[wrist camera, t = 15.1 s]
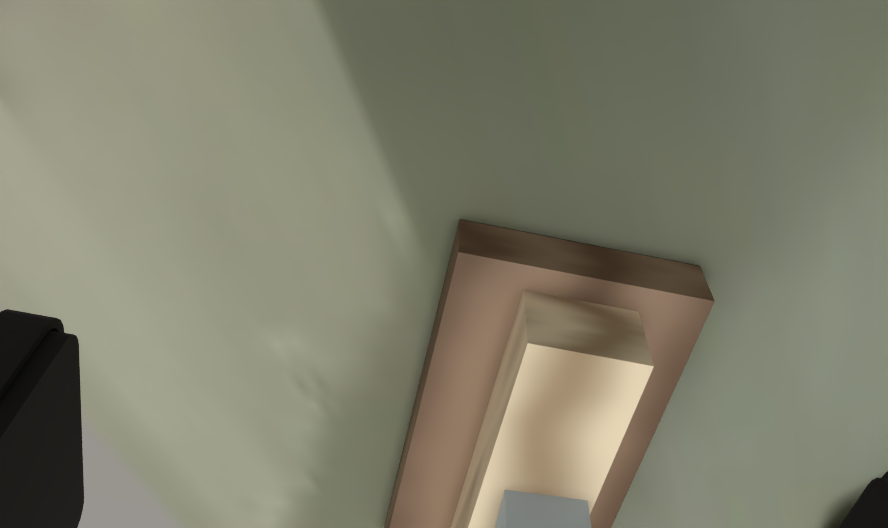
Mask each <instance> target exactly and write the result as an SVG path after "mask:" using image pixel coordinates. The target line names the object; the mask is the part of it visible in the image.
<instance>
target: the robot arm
mask: <svg viewBox="0 0 888 528" xmlns="http://www.w3.org/2000/svg"><path fill="white" fill-rule="evenodd" d="M82 458H83V457H82V427H81V397H80V368H79V344H78V339H77V337H76V336H75V335H73V334H67V333H64V327H63V324H62V322H61V320H60V319H57V318H53V317H47V316H42V315H36V314H30V313H25V312H19V311H14V310H8V309H7V310H4V311H1V312H0V528H77V527H78V524H79V521H80V518H81V514H82V510H83V504H84V486H83V459H82ZM839 528H888V472H886V473H885V474H884V476H883V477H882V478H876V479H874V480H872V481H871V482H870V483H869V484H868V486H867V487H866V489H865V490H864V492H863V493H862V495H861V496H860V498H859V499H858V501H857V502H856V504H855V505H854V507H853V508H852V510H851V511H850V513H849V514H848V516H847V517H846V518H845V520H844V521H843V523H842V524H841V526H840V527H839Z"/></svg>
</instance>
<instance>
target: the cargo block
mask: <svg viewBox="0 0 888 528" xmlns="http://www.w3.org/2000/svg"><path fill="white" fill-rule="evenodd" d="M495 528H591V521H590V514H589V507H588V500H581V499H573V498H565V497H558V496H550V495H542V494H535V493H527V492H519V491H512V490H504V494H503V498H502V502H501V505H500V509H499V513H498V517H497V520H496V524H495Z"/></svg>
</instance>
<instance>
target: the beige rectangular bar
mask: <svg viewBox="0 0 888 528" xmlns="http://www.w3.org/2000/svg"><path fill="white" fill-rule="evenodd" d="M653 367H654V365H653V361H652V358H651V354H650V350H649V347H648V343H647V340H646V336H645V333H644V329H643V325H642V322H641V318H640V315H639V312H637V311H632V310H627V309H622V308H616V307H611V306H606V305H600V304H595V303H590V302H585V301H579V300H574V299H569V298H563V297H558V296H553V295H548V294H542V293H537V292H532V291H526V290H523V293H522V296H521V299H520V302H519V306H518V309H517V312H516V315H515V319H514V322H513V325H512V328H511V332H510V335H509V338H508V341H507V345H506V348H505V351H504V355H503V358H502V361H501V364H500V368H499V371H498V374H497V377H496V381H495V384H494V387H493V390H492V394H491V397H490V400H489V403H488V407H487V410H486V413H485V416H484V420H483V423H482V426H481V430H480V433H479V436H478V439H477V443H476V446H475V449H474V452H473V456H472V459H471V462H470V465H469V469H468V472H467V475H466V478H465V482H464V485H463V488H462V491H461V495H460V498H459V501H458V505H457V508H456V511H455V514H454V518H453V521H452V524H451V527H450V528H495V524H496V520H497V517H498V513H499V509H500V505H501V502H502V498H503V494H504V490H512V491H519V492H527V493H535V494H542V495H550V496H558V497H565V498H573V499H581V500H588V507H589V514H590V513H591V511H592V509H593V506H594V504H595V502H596V499H597V497H598V495H599V492H600V490H601V488H602V486H603V483H604V481H605V479H606V476H607V474H608V472H609V469H610V467H611V465H612V462H613V460H614V458H615V455H616V453H617V451H618V448H619V446H620V444H621V442H622V439H623V437H624V435H625V432H626V430H627V428H628V425H629V423H630V421H631V418H632V416H633V414H634V411H635V409H636V407H637V404H638V402H639V400H640V398H641V395H642V393H643V391H644V388H645V386H646V384H647V381H648V379H649V377H650V374H651V372H652V370H653Z"/></svg>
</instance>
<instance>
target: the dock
mask: <svg viewBox="0 0 888 528" xmlns="http://www.w3.org/2000/svg"><path fill="white" fill-rule="evenodd" d="M523 290H526V291H532V292H537V293H542V294H548V295H553V296H558V297H563V298H569V299H574V300H579V301H585V302H590V303H595V304H600V305H606V306H611V307H616V308H622V309H627V310H632V311H637V312H639V315H640V318H641V322H642V325H643V329H644V333H645V336H646V340H647V343H648V347H649V350H650V354H651V358H652V361H653V365H654V367H653V370H652V372H651V374H650V377H649V379H648V381H647V384H646V386H645V388H644V391H643V393H642V395H641V398H640V400H639V402H638V404H637V407H636V409H635V411H634V414H633V416H632V418H631V421H630V423H629V425H628V428H627V430H626V432H625V435H624V437H623V439H622V442H621V444H620V446H619V448H618V451H617V453H616V455H615V458H614V460H613V462H612V465H611V467H610V469H609V472H608V474H607V476H606V479H605V481H604V483H603V486H602V488H601V490H600V492H599V495H598V497H597V499H596V502H595V504H594V506H593V509H592V511H591V513H590V521H591V528H611V527H612V525H613V522H614V520H615V518H616V516H617V514H618V511H619V509H620V507H621V505H622V503H623V501H624V498H625V496H626V494H627V492H628V490H629V487H630V485H631V483H632V481H633V479H634V476H635V474H636V472H637V470H638V468H639V466H640V463H641V461H642V459H643V457H644V455H645V452H646V450H647V448H648V446H649V444H650V441H651V439H652V437H653V435H654V433H655V431H656V428H657V426H658V424H659V422H660V420H661V417H662V415H663V413H664V411H665V409H666V406H667V404H668V402H669V400H670V398H671V396H672V393H673V391H674V389H675V387H676V385H677V382H678V380H679V378H680V376H681V374H682V371H683V369H684V367H685V365H686V363H687V361H688V358H689V356H690V354H691V352H692V350H693V347H694V345H695V343H696V341H697V339H698V336H699V334H700V332H701V330H702V328H703V326H704V323H705V321H706V319H707V317H708V315H709V312H710V310H711V308H712V306H713V304H714V299H713V296H712V294H711V291H710V289H709V287H708V284H707V282H706V279H705V277H704V275H703V272H702V270H701V267H700V266H696V265H691V264H686V263H680V262H675V261H670V260H665V259H660V258H655V257H650V256H644V255H639V254H634V253H629V252H624V251H619V250H614V249H609V248H603V247H598V246H593V245H588V244H583V243H578V242H573V241H568V240H562V239H557V238H552V237H547V236H542V235H537V234H532V233H527V232H521V231H516V230H511V229H506V228H501V227H496V226H491V225H485V224H480V223H475V222H470V221H465V220H459V224H458V228H457V232H456V236H455V240H454V244H453V248H452V252H451V256H450V261H449V265H448V269H447V273H446V277H445V281H444V285H443V289H442V293H441V297H440V301H439V305H438V309H437V314H436V318H435V322H434V326H433V330H432V334H431V338H430V342H429V346H428V350H427V354H426V358H425V362H424V367H423V371H422V375H421V379H420V383H419V387H418V391H417V395H416V399H415V403H414V407H413V411H412V416H411V420H410V424H409V428H408V432H407V436H406V440H405V444H404V448H403V452H402V456H401V460H400V464H399V469H398V473H397V477H396V481H395V485H394V489H393V493H392V497H391V501H390V505H389V509H388V513H387V517H386V522H385V526H384V528H450V527H451V524H452V521H453V518H454V514H455V511H456V508H457V505H458V501H459V498H460V495H461V491H462V488H463V485H464V482H465V478H466V475H467V472H468V469H469V465H470V462H471V459H472V456H473V452H474V449H475V446H476V443H477V439H478V436H479V433H480V430H481V426H482V423H483V420H484V416H485V413H486V410H487V407H488V403H489V400H490V397H491V394H492V390H493V387H494V384H495V381H496V377H497V374H498V371H499V368H500V364H501V361H502V358H503V355H504V351H505V348H506V345H507V341H508V338H509V335H510V332H511V328H512V325H513V322H514V319H515V315H516V312H517V309H518V306H519V302H520V299H521V296H522V293H523Z"/></svg>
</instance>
